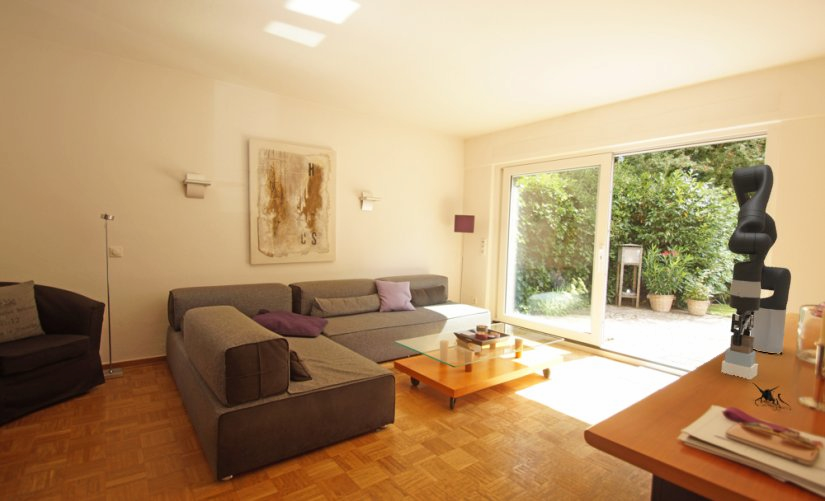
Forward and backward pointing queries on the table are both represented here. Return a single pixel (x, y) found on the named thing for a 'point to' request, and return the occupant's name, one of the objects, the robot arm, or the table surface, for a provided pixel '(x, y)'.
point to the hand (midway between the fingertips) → (741, 343)
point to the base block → (739, 370)
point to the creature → (769, 397)
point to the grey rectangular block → (740, 358)
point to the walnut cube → (743, 345)
